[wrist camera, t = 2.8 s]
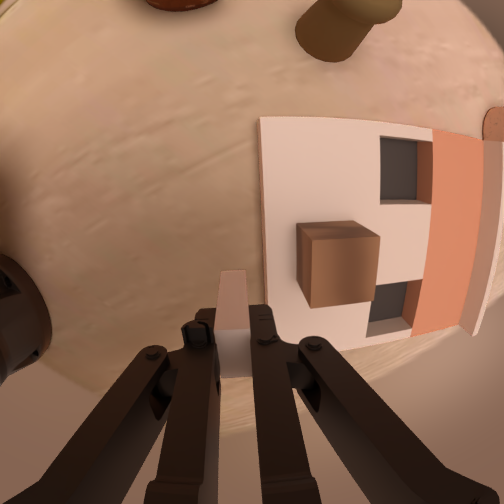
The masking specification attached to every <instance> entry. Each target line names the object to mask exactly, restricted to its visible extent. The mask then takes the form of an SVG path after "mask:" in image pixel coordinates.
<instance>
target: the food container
mask: <svg viewBox="0 0 504 504" xmlns="http://www.w3.org/2000/svg"><path fill="white" fill-rule="evenodd" d="M146 1H147V2H148V3H149V4H150V5H151V6H153V7H155V8H157V9H160V10H165V11H173V12H176V11H188V10H193V9H198V8H201V7H204V6H207V5H209V4H211V3H213V2H215V1H217V0H146Z"/></svg>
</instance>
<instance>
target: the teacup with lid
mask: <svg viewBox="0 0 504 504" xmlns="http://www.w3.org/2000/svg"><path fill="white" fill-rule="evenodd" d="M483 137H484V140H486V141H500V142H504V107H494V108H492V109H490V110H489V111H488V113H487V115H486V117H485V120H484V126H483Z"/></svg>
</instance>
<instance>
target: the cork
mask: <svg viewBox="0 0 504 504" xmlns="http://www.w3.org/2000/svg"><path fill="white" fill-rule="evenodd" d="M401 8H402V0H318V1H317V2H316V3H314V4H313V5H312V6H311V7H310V8H309V9H308V10H307V11H306V12H305V13H304V14H303V15H302V17H301V18H300V19H299V20H298V21H297V24H296V27H295V33H296V38H297V40H298V42H299V44H300V46H301V47H302V48H303V49H304V50H305V51H306V52H307V53H308V54H310V55H311V56H313V57H315V58H316V59H319V60H322V61H325V62H340V61H344V60H345V59H347V58H349V57H350V56H351V55H352V54H353V52H354V51H355V50H356V48H357V47H358V46H359V44H360V43H361V42H362V40H363V39H364V38H365V36H366V35H367V34H368V32H369V31H370V30H371V28H372V27H373V26H374V24H382V23H385V22H387V21H389V20H391V19H393V18H394V17H396V15H397V14H398V12H399V11H400V9H401Z"/></svg>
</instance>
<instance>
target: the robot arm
mask: <svg viewBox="0 0 504 504" xmlns="http://www.w3.org/2000/svg"><path fill="white" fill-rule="evenodd" d="M181 330H182V335H183V340H184V347H183V348H181V349H179V350H176V351H172V352H167V349H166V348H164V347H163V346H159V345H152V346H148V347H146V348H143V349H142V350H141V351H140V352H139V353H138V354H137V356H136V357H135V358H134V359H133V361H132V362H131V363H130V364H129V365H128V367H127V368H126V369H125V370H124V372H123V373H122V374H121V375H120V377H119V378H118V379H117V380H116V382H115V383H114V384H113V385H112V387H111V388H110V389H109V390H108V392H107V393H106V394H105V395H104V397H103V398H102V399H101V400H100V402H99V403H98V404H97V405H96V407H95V408H94V409H93V411H92V412H91V413H90V414H89V416H88V417H87V418H86V420H85V421H84V422H83V423H82V425H81V426H80V427H79V429H78V430H77V431H76V432H75V434H74V435H73V436H72V438H71V439H70V440H69V441H68V443H67V444H66V446H65V447H64V448H63V449H62V451H61V452H60V453H59V455H58V456H57V457H56V459H55V460H54V461H53V463H52V464H51V465H50V467H49V468H48V469H47V471H46V472H45V473H44V475H43V476H42V478H41V479H40V480H39V481H38V482H36V483H35V484H33V485H32V486H30V487H29V488H27V489H25V490H24V491H22V492H21V493H19V494H17V495H16V496H14V497H13V498H11V499H9V500H8V501H6V502H4V503H3V504H121V503H122V501H123V499H124V497H125V496H126V494H127V492H128V490H129V488H130V487H131V485H132V483H133V481H134V479H135V478H136V476H137V474H138V472H139V470H140V468H141V467H142V465H143V463H144V461H145V459H146V457H147V456H148V454H149V452H150V450H151V448H152V446H153V445H154V443H155V441H156V439H157V437H158V435H159V434H160V432H161V430H162V428H163V426H164V424H165V423H166V421H167V423H166V428H165V433H164V438H163V443H162V448H161V454H160V459H159V464H158V470H157V475H156V478H155V480H153V481H150V482H149V483H148V485H147V489H146V493H145V498H144V504H218V458H219V425H220V399H221V383H220V375H221V378H235V377H252V376H253V390H254V403H255V416H256V429H257V442H258V454H259V467H260V478H261V490H262V503H263V504H322V503H321V499H320V494H319V490H318V485H317V482H316V480H315V478H314V477H312V475H311V472H310V467H309V463H308V458H307V454H306V449H305V444H304V440H303V435H302V431H301V426H300V422H299V417H298V413H297V408H296V404H295V399H294V395H293V390H292V388H296V390H297V393H298V394H299V396H300V397H301V399H302V401H303V402H304V404H305V405H306V407H307V408H308V410H309V412H310V413H311V415H312V416H313V418H314V419H315V421H316V423H317V424H318V425H319V427H320V429H321V430H322V432H323V433H324V435H325V436H326V438H327V439H328V441H329V442H330V444H331V445H332V447H333V448H334V450H335V452H336V453H337V455H338V456H339V457H340V459H341V461H342V462H343V464H344V465H345V467H346V468H347V470H348V471H349V473H350V474H351V475H352V477H353V478H354V480H355V481H356V483H357V484H358V486H359V487H360V488H361V490H362V491H363V493H364V494H365V496H366V497H367V499H368V500H369V502H370V503H371V504H500V502H499V496H498V494H497V492H496V491H494V490H493V489H492V488H490V487H487V486H485V485H483V484H480V483H478V482H475V481H473V480H471V479H469V478H467V477H465V476H462V475H460V474H458V473H456V472H454V471H452V470H450V469H448V468H446V467H445V466H444V465H443V464H442V463H441V462H440V461H439V460H438V459H437V458H436V457H435V455H433V453H432V452H431V451H430V450H429V449H428V448H427V447H426V446H425V445H424V444H423V443H422V442H421V440H419V438H418V437H417V436H416V435H415V434H414V433H413V432H412V431H411V430H410V429H409V428H408V427H407V426H406V425H405V423H404V422H403V421H402V420H401V419H400V418H399V417H398V416H397V415H396V414H395V413H394V412H393V410H392V409H391V408H390V407H389V406H388V405H387V404H386V403H385V402H384V401H383V400H382V399H381V398H380V396H379V395H378V394H377V393H376V392H375V391H374V390H373V389H372V388H371V387H370V386H369V385H368V384H367V382H366V381H365V380H364V379H363V378H362V377H361V376H360V375H359V374H358V373H357V372H356V371H355V369H354V368H353V367H352V366H351V365H350V364H349V363H348V362H347V361H346V360H345V359H344V358H343V357H342V355H341V354H340V353H339V352H338V351H337V350H336V349H335V348H334V347H333V346H332V345H331V344H330V342H329V341H328V340H326V339H325V338H323V337H320V336H307V337H305V338H303V339H301V340H300V341H299V344H292V343H287V342H285V341H283V340H281V338H280V336H279V335H278V334H277V329H276V325H275V320H274V316H273V311H272V308H271V307H270V306H268V305H267V304H261V305H248V296H247V283H246V270H230V271H221V275H220V283H219V291H218V299H217V307H216V308H205V309H200V310H199V311H198V312H197V313H196V315H195V320H193V321H190V322H187V323H186V324H184V325H183V326H182V328H181ZM50 340H51V323H50V318H49V314H48V311H47V308H46V306H45V303H44V301H43V299H42V297H41V295H40V293H39V291H38V289H37V288H36V286H35V284H34V283H33V281H32V280H31V279H30V277H29V276H28V275H27V273H26V272H25V271H24V270H23V269H22V268H21V267H20V266H19V265H18V264H17V263H16V262H14V261H13V260H12V259H10V258H9V257H7V256H5V255H2V254H0V386H1V385H2V383H3V382H4V381H5V379H6V378H7V377H8V376H9V375H11V374H13V373H15V372H17V371H19V370H21V369H23V368H25V367H26V366H28V365H30V364H32V363H34V362H36V361H37V360H38V359H39V358H40V357H41V356H42V354H43V353H44V352H45V351H46V349H47V348H48V346H49V344H50Z"/></svg>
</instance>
